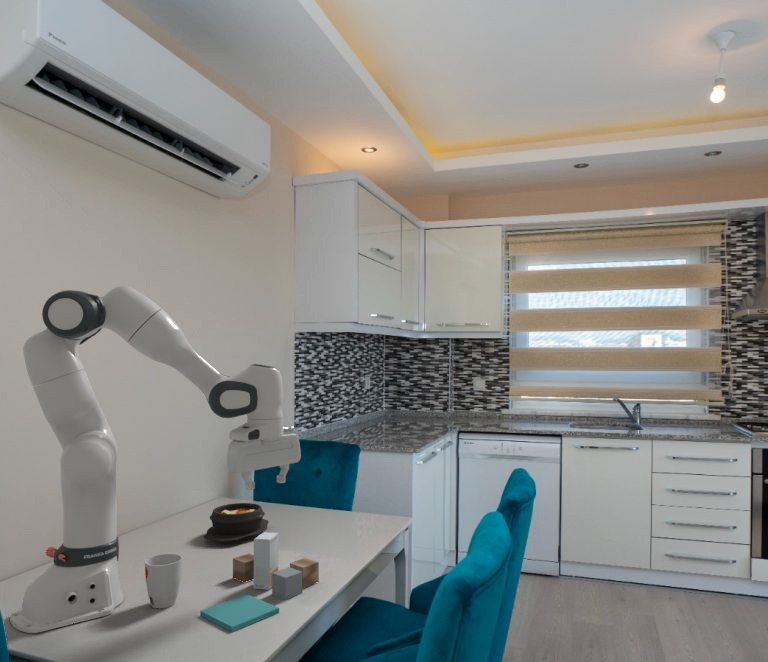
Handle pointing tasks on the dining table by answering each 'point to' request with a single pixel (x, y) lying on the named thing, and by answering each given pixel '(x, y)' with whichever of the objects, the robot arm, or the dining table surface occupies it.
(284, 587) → the slate grey block
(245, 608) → the teal mat
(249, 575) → the walnut block
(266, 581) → the skincare box
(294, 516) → the dining table surface
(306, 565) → the light brown wooden cube
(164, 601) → the cup
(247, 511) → the casserole
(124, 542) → the dining table surface
